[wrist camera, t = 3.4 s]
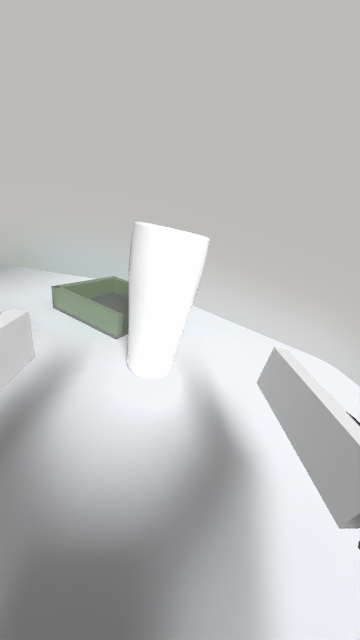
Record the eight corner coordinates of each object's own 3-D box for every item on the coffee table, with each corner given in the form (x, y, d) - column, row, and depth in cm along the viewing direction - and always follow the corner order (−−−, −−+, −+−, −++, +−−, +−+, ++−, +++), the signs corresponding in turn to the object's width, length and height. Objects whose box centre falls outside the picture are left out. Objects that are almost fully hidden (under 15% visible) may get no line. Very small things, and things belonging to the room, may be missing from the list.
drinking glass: (157, 397, 19) (192, 234, 13) (106, 367, 21) (114, 216, 15) (186, 364, 25) (221, 239, 18) (144, 342, 27) (161, 225, 21)
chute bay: (53, 307, 30) (51, 286, 29) (113, 292, 41) (113, 276, 40) (116, 339, 26) (118, 316, 25) (164, 312, 37) (167, 296, 36)
